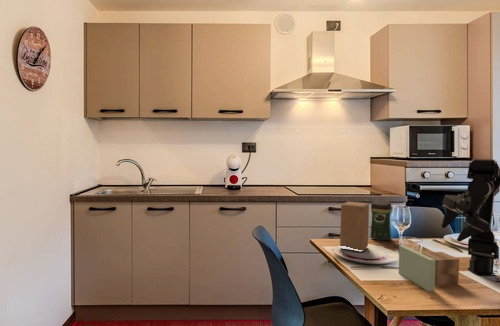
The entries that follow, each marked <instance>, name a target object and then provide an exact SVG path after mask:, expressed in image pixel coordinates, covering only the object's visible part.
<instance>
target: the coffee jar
mask: <svg viewBox="0 0 500 326" xmlns="http://www.w3.org/2000/svg"><path fill="white" fill-rule="evenodd" d="M370 211H371V223H370V230H369V231H370V232H369V233H370V234H369V237H370V238H371V239H372V240H377V241H390V240H391V238H392V230H391V215H392V214H391V213H392V211H393V209H392V203H391V202H390V201H383V200H372V202H371V204H370Z"/></svg>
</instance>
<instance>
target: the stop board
mask: <svg viewBox="0 0 500 326" xmlns="http://www.w3.org/2000/svg"><path fill="white" fill-rule="evenodd" d="M398 250H399V251H398V253H399V254H398V255H399V256H398V274H399V275H401V276H403V277H404V278H406V279H407V280H409V281H411V282H412V283H414V284H416V285H417V286H419V287H420V288H422V289H424V290H425V291H426V292H435V286H436V285H435V263H436V260H435V259H433V258H430V257H428V256H426V255H424V254H422V253H423V252H419V251H417V250H415V249H413V248H411V247H409V246H407V245H402V244H401V245H399V248H398Z"/></svg>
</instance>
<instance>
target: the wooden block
mask: <svg viewBox="0 0 500 326" xmlns="http://www.w3.org/2000/svg"><path fill="white" fill-rule="evenodd" d="M340 206H341V207H340V233H339V234H340V235H339V237H340V238H339V247H340V246H346V247H350V248H353V249H358V250H364V249H365V248H366V247H367V246H369V223H370V220H369V218H370V204H369V203H367V202H366V203H365V202H359V201H358V202H357V201H346V202H344V203H343V204H341V205H340ZM367 248H368V247H367ZM367 248H366V249H367ZM366 249H365V250H366ZM365 250H364V251H365Z"/></svg>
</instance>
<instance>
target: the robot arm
mask: <svg viewBox="0 0 500 326" xmlns="http://www.w3.org/2000/svg"><path fill="white" fill-rule="evenodd" d="M467 169H468V170H467V176H466V177H467V179H471V181H470V182H469V183H468V185H467V192H462V193H461V194H460V195H457V194H456V195H455V194H454V195H453V194H452V195H451V194H445V195H444V197H443V198H442V200H441V201H440V204H441V206H442V207H443V210H444V215H443V218H442V223H441V228H442V229H445V228H447V227H448V226H449V225H450V224H451V223H453V221H454V220H455V219H456V218H457V217H458V216H460V214H461V215H462V216H463V217H464V218H465V219H466V221H463V228H462V230H461V231H460V233H459V234H458V235H457V239H456V241H457V242H462V241H465V240H466V239H468V241H467V255H468V256H470V258H469V267H467V270H468V271H469V272H472V273H474V275H477V276H492V275H491V274H496V273H495V272H494V260H498V259H499V258H500V247H499V245H498V243H497V241H496V239H495V238H496V237H495V234H494V232H493V231H492V223H493V222H492V220H493V213H494V211H493V210H494V201H495V197H496V195H497V194H499V193H500V166H499V163H498V160H495V159H490V158H489V159H487V158H485V159H482V158H481V159H480V158H472V160H471V161H469V164H468V168H467Z"/></svg>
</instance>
